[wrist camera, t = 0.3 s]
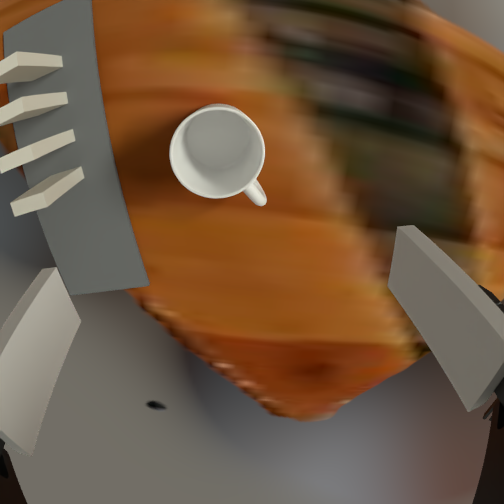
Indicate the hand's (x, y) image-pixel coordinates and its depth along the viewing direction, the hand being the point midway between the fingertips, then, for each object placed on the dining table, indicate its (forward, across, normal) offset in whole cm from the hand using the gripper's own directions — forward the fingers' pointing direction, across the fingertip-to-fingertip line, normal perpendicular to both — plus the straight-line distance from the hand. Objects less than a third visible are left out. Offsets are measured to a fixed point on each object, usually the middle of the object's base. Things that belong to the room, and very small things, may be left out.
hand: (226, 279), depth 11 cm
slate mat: (+28, -20, +3) cm, 34 cm away
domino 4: (+27, -20, 0) cm, 34 cm away
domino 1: (+27, -21, +15) cm, 37 cm away
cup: (+28, +1, -1) cm, 28 cm away
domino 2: (+27, -21, +10) cm, 35 cm away
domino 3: (+27, -20, +5) cm, 34 cm away
